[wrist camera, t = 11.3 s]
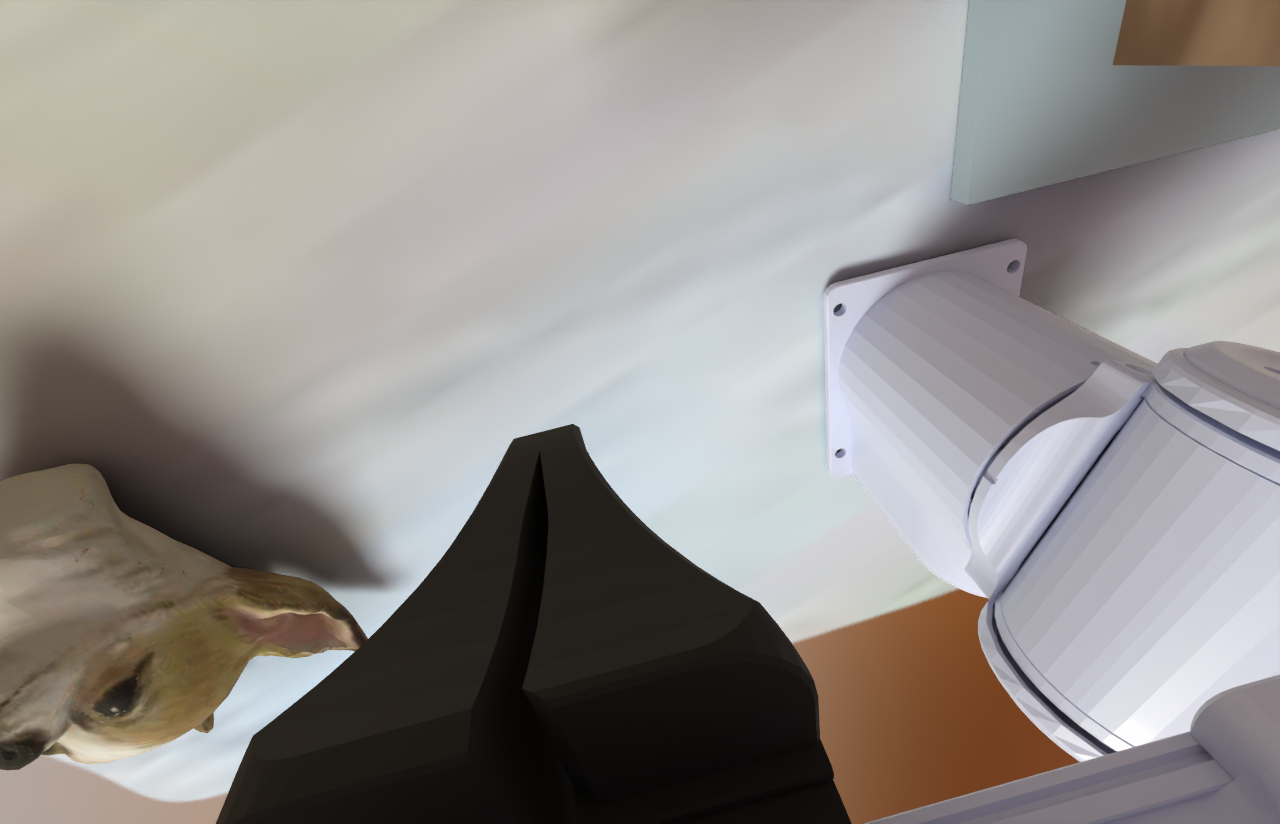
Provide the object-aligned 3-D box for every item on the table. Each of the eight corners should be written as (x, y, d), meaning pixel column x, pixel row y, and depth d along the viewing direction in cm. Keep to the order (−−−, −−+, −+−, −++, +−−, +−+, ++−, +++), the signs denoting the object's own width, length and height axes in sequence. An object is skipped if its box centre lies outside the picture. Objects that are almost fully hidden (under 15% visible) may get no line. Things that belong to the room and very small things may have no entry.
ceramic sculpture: (-162, 561, 12) (355, 785, 21) (86, 360, 19) (396, 590, 28) (-476, 752, 14) (130, 888, 22) (-137, 500, 21) (223, 677, 29)
